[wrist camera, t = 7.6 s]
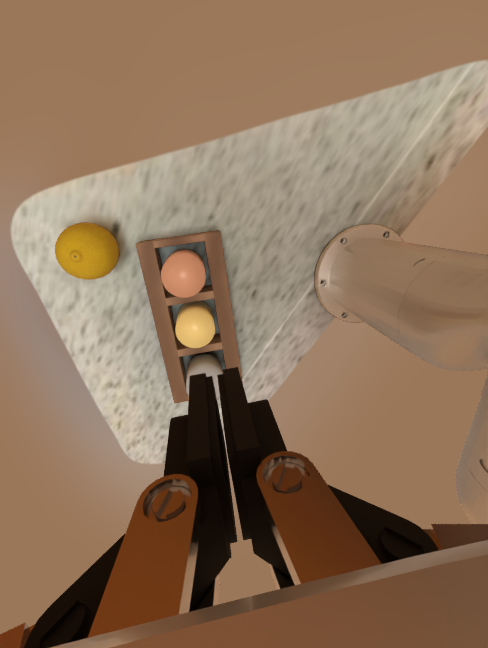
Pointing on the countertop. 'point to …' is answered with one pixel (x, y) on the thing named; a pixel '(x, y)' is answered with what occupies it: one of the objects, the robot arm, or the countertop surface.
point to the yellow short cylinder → (195, 325)
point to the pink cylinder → (183, 273)
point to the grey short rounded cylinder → (205, 369)
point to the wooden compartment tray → (165, 299)
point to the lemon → (87, 251)
